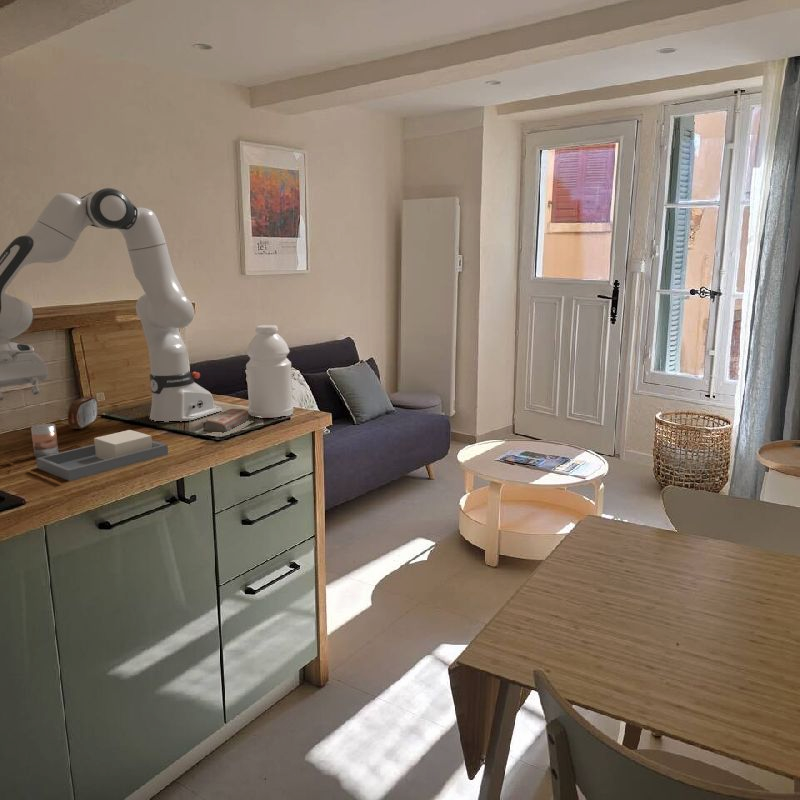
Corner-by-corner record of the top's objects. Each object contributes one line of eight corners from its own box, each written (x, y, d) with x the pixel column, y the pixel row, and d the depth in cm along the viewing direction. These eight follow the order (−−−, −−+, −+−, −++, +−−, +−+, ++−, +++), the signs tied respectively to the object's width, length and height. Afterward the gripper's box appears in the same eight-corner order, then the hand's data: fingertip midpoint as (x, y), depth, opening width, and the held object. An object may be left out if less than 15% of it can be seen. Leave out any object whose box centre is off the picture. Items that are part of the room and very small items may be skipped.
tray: (134, 445, 196) (133, 435, 196) (168, 456, 186) (167, 444, 186) (37, 470, 177) (36, 458, 176) (69, 483, 167) (68, 470, 166)
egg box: (131, 447, 192) (129, 429, 191) (152, 454, 186) (151, 435, 185) (96, 456, 185) (94, 438, 184) (116, 464, 179) (114, 444, 178)
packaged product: (225, 406, 221) (254, 408, 218) (226, 422, 222) (255, 423, 219) (193, 421, 204) (224, 423, 201) (194, 437, 205) (226, 439, 203)
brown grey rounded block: (91, 419, 226) (88, 393, 224) (101, 419, 226) (98, 393, 224) (68, 432, 211) (64, 404, 209) (79, 432, 211) (75, 404, 209)
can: (52, 451, 192) (48, 422, 190) (63, 455, 188) (59, 425, 187) (30, 456, 188) (26, 426, 186) (41, 460, 184) (37, 430, 182)
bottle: (281, 407, 239) (276, 322, 232) (301, 414, 228) (297, 326, 221) (241, 413, 230) (235, 325, 224) (260, 421, 220) (255, 330, 213)
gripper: (-42, 354, 187) (-21, 396, 183) (38, 344, 202) (59, 382, 198) (-46, 369, 190) (-26, 410, 186) (32, 358, 206) (53, 396, 202)
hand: (18, 396), depth 192 cm, fingers open, 8 cm apart
